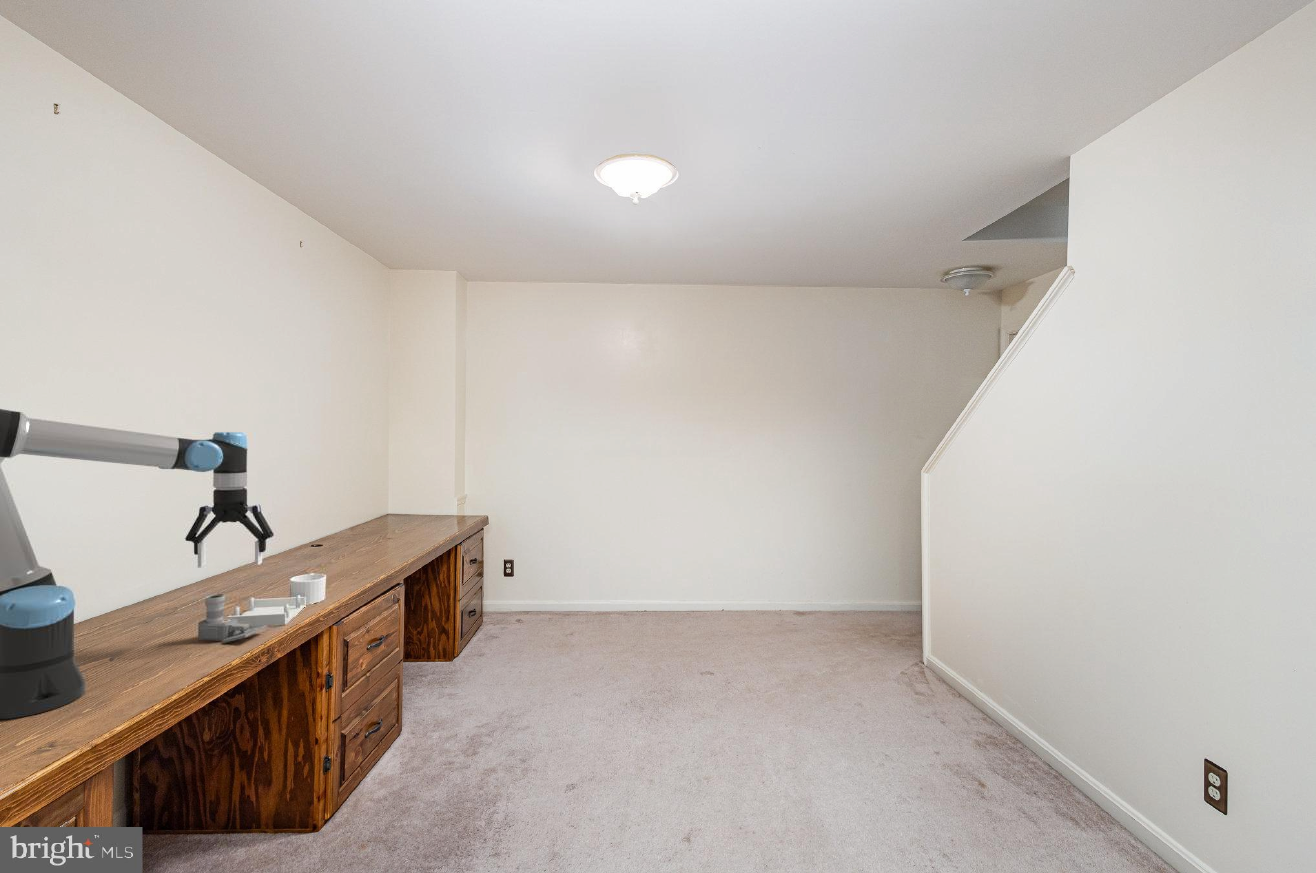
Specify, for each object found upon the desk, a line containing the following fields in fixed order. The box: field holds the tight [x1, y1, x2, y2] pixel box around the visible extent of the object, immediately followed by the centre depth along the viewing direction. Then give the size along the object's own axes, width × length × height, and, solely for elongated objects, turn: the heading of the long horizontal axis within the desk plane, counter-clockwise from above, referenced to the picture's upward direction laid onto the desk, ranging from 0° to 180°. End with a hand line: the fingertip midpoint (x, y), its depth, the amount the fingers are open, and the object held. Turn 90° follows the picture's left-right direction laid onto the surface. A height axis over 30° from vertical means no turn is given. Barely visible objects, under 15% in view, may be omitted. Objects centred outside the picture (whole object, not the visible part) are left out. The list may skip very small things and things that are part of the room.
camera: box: [197, 593, 269, 644], centre depth 162 cm, size 9×12×15 cm
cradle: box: [226, 595, 307, 628], centre depth 180 cm, size 18×15×5 cm
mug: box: [289, 572, 327, 606], centre depth 198 cm, size 13×10×8 cm
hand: (230, 565), depth 162 cm, fingers open, 13 cm apart
